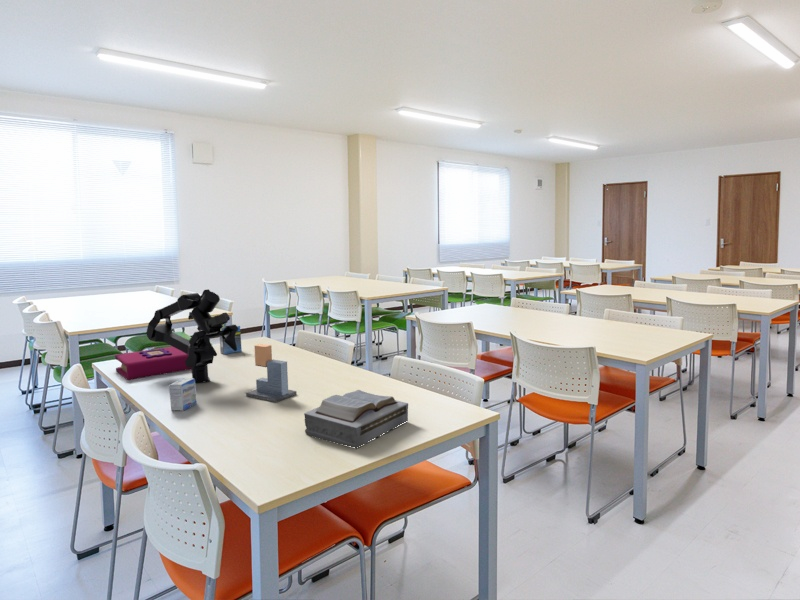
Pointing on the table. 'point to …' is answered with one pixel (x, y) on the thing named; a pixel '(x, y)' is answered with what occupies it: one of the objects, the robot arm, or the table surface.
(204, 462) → the table surface
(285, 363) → the stand
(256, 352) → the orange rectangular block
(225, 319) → the robot arm
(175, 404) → the medicine box
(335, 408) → the bible
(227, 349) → the label tape cartridge
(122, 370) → the book
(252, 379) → the table surface
